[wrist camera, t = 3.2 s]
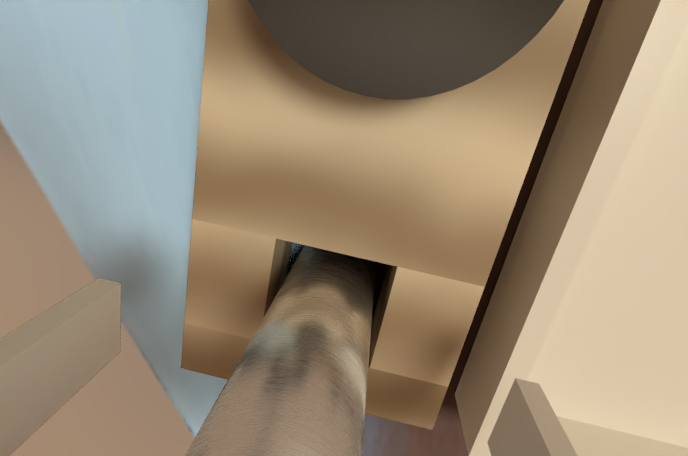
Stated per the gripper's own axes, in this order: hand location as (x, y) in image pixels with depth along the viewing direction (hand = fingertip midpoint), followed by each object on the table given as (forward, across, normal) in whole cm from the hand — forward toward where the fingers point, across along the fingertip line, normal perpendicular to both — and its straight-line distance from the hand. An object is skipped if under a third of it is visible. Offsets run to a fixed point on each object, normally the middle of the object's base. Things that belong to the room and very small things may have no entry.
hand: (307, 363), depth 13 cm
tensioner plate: (+8, 0, +7) cm, 10 cm away
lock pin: (+8, 0, 0) cm, 8 cm away
